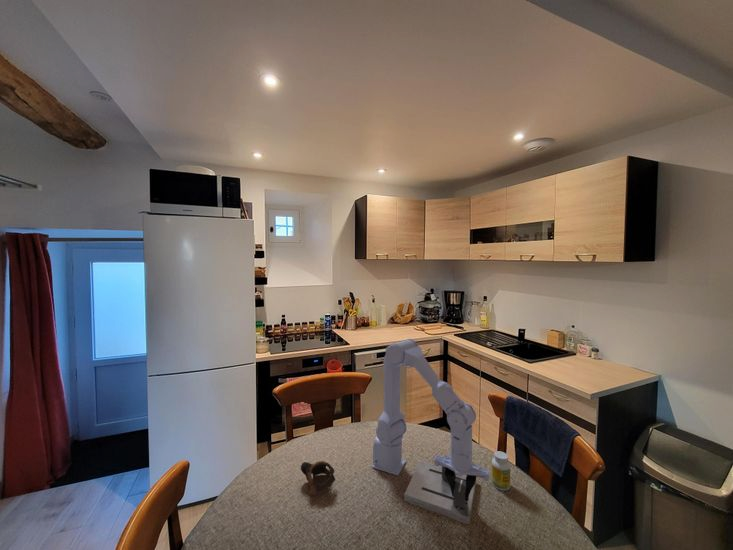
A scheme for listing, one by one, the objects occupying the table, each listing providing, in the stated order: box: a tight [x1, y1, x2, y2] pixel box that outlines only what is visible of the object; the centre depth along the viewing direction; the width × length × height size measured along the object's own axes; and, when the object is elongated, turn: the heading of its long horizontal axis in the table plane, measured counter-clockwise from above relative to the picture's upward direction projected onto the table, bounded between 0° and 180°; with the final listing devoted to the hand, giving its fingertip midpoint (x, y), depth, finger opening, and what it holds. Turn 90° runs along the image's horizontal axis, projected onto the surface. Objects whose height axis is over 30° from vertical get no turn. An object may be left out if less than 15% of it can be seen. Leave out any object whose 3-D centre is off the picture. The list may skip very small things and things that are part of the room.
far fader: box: [442, 455, 449, 480], centre depth 94 cm, size 3×5×4 cm, turn 154°
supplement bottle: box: [491, 450, 511, 491], centre depth 92 cm, size 5×5×10 cm
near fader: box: [453, 479, 466, 509], centre depth 83 cm, size 3×5×4 cm, turn 154°
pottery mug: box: [300, 460, 336, 497], centre depth 92 cm, size 12×10×8 cm
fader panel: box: [403, 459, 477, 525], centre depth 90 cm, size 18×17×2 cm
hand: (460, 496), depth 83 cm, fingers closed on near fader, 3 cm apart
